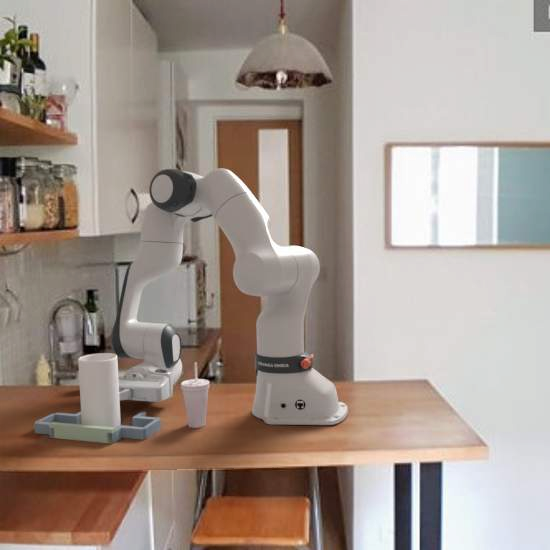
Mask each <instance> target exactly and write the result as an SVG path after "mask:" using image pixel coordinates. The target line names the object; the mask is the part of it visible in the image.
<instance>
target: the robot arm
mask: <svg viewBox="0 0 550 550" xmlns="http://www.w3.org/2000/svg"><path fill="white" fill-rule="evenodd" d="M148 189H149V190H148V191H149V192H148V193H149V198H150V201H151V202H150V203H149V204H148V205H147V206H146V208H145V210H144V213H143V217H142V218H143V219H142V224H141V229H140V230H141V231H140V240H139V241H140V242H139V248H138V252H137V255H136V257H135V259H134V260H133V261H132V262H130V263H128V266H127V268H126V271H125V274H124V279H123V282H122V283H123V284H122V286H121V292H120V296H119V303H118V307H117V312H116V316H115V317H116V318H115V321H114V323H113V325H112V329H111V332H110V336H109V346H110V347H111V349H112V352H113V353H114V354H116V355H117V358H120V359H140V360H141V359H142V360H143V362H141V363H139V364H137V365H135V366H133V367H130V368H129V369H127V370H126V371H125V373H124V375H123V376H118V380H119V400H120V401H135V402H151V403H152V402H153V403H161V402H165V401H166V400H168V399H171V398H172V397H173V394H174V393H173V392H174V384H175V383H176V381H178V379H179V378H180V376H181V374H182V371H183V363H182V360H181V354H182V338H181V335H180V333H179V332H178V330H177V329H176V327H174V325H173V324H170V323H159V322H145V321H143V322H142V321H138V319H137V316H138V312H139V307H140V302H141V297H142V292H143V290H144V289H145V287H146V286H147V285H148V284H150V283H152V282H154V281H156V280H159V279H162V278H165V277H167V276H169V275H170V274H172V273H174V272H175V271H176V270H177V269H179V266H180V265H181V263H182V260H183V253H184V252H183V251H184V229H185V225H186V224H187V223H188V222H189V221H191V222H193V223H196V222H199V221H202V220H205V219H208V218H212V217H213V219H214V220H215V221H216V224H218V226H219V228H220V229H221V230H222V232H223V234H224V235H225V236H226V239H227V240H228V241H229V243H230V245H231V247H232V250H233V253H234V255H235V256H234V257H235V262H234V264H233V268H232V275H233V281H234V283H235V286H236V287H237V288H238V290H239V291H241V293H243V294H245V295H248V296H253V297H264V298H265V297H266V301H265V304H264V307H263V309H262V311H261V312H260V313H259V315H258V317H257V319H256V322H255V324H256V325H255V327H256V331H255V332H256V352H255V358H254V370H255V376H256V386H255V387H256V388H255V396H254V400H253V405H252V409H251V413H252V415H253V416H254V417H256V418H258V419H261V420H263V422H264V423H265V424H267V425H290V426H291V425H294V426H295V425H297V426H298V425H301V426H302V425H303V426H304V425H305V426H306V425H307V426H308V425H309V426H331V425H332V426H333V425H336V424H339V423H341V422H343V421H344V420H346V418H347V416H348V413H349V410H348V409H349V408H348V406H347V404H346V403H344V402H342V401H339V397H338V392H337V389H336V386H335V384H334V383H333V382H332V381H331V380H329V379H328V378H326V377H325V376H323V375H322V374H321V373H320V372H318V370H316V369H315V368H313V367H314V362H313V361H314V354H313V353H312V354H309V353H308V352H306V351H305V337H304V336H305V315H306V310H307V306H308V305H307V304H308V301H309V297H310V293H311V290H312V287H313V285H314V284H315V283H316V281H317V279H318V278H319V275H320V271H321V265H320V260H319V258H318V256H317V255H316V253H315V252H314V251H312V250H311V249H309V248H306V247H303V246H299V245H293V244H292V245H278V244H277V243H276V242H274V240H273V238H272V236H271V233H270V228H271V225H272V224H271V223H272V222H271V218H270V216H269V215H268V213H267V212H266V211H265V209H264V208H263V206H262V205H261V204H260V202H259V201H258V200H257V198H256V197H255V195H254V194H253V193H252V191H251V190H250V189H249V188H248V187H247V185H246V184H245V182H243V181H242V179H241V178H239V176H237V175H236V174H235V173H234V172H232V170H230V169H228V168H224V167H223V168H222V167H221V168H220V167H219V168H215V169H213V170H210V171H209V172H208V173H207V174H205V176H202V175H200V174H197V173H194V172H190V171H184V170H181V169H178V168H167V169H162V170H159V171H157V173H155V174H154V175H153V177H152V178H151V181H150V184H149V188H148Z"/></svg>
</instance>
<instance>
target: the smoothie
mask: <svg viewBox="0 0 550 550" xmlns="http://www.w3.org/2000/svg"><path fill="white" fill-rule="evenodd" d="M193 366H194V378H192V379H186V380H184V381H182V382H181V383H180V389H181V390H182V396H183V401H184V405H185V406H184V407H185V411H186V412H185V414H186V419H187V424H188V425H187V426H188V427H189V428H192V429H199V428H202V427H205V426H206V422H207V421H206V417H207V408H208V398H209V396H208V395H209V388H210V387H211V386H210V385H211V384H210V380H208V379H205V378H198V362H196V361H195V362H194V365H193Z"/></svg>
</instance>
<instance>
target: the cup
mask: <svg viewBox="0 0 550 550" xmlns="http://www.w3.org/2000/svg"><path fill="white" fill-rule="evenodd" d="M77 363H78V378H79V379H78V380H79V381H78V382H79V395H80V397H79V399H80V411H81V419H82V423H81V425H92V426H103V427H114V428H116V427H118V426H119V425H122V423H121V422H122V420H121V405H120V404H121V400H119V380H118V377H119V364H118V356H117V355H116V354H115V353H110V352H103V353H101V352H99V353H91V354H86V355H82V356H80V357H78V361H77Z"/></svg>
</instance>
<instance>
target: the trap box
mask: <svg viewBox="0 0 550 550" xmlns="http://www.w3.org/2000/svg"><path fill="white" fill-rule="evenodd" d="M131 421H132V425H122V424H121V425H119V426H118V427H116V428H114V427H103V426H92V425H82V419H81V410H80V411H79V412H76V413H67V412H55V413H51V414H49V415H46V416H44V417H43V418H40V419H38V420H37V421H34V433H35V434H39V435H48V436H49V439H51V438H52V439H59V440H60V439H61V440H68V441H69V440H71V441H80V442H91V443H100V444H110V445H113V444H115V443H116V442H118V441H120V440H121V439H130V438H131V439H134V440H140V441H141V440H147V439H149V438H150V437H152V436H153V435H154V434H156V433H157V432H159V431H160V430H161V429H162V419H161V417H156V416H153V417H152V416H147V412H146V411H141V412H139V413H137V414H136V415H134V416H133V417H132V418H131ZM122 437H123V438H122Z"/></svg>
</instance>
